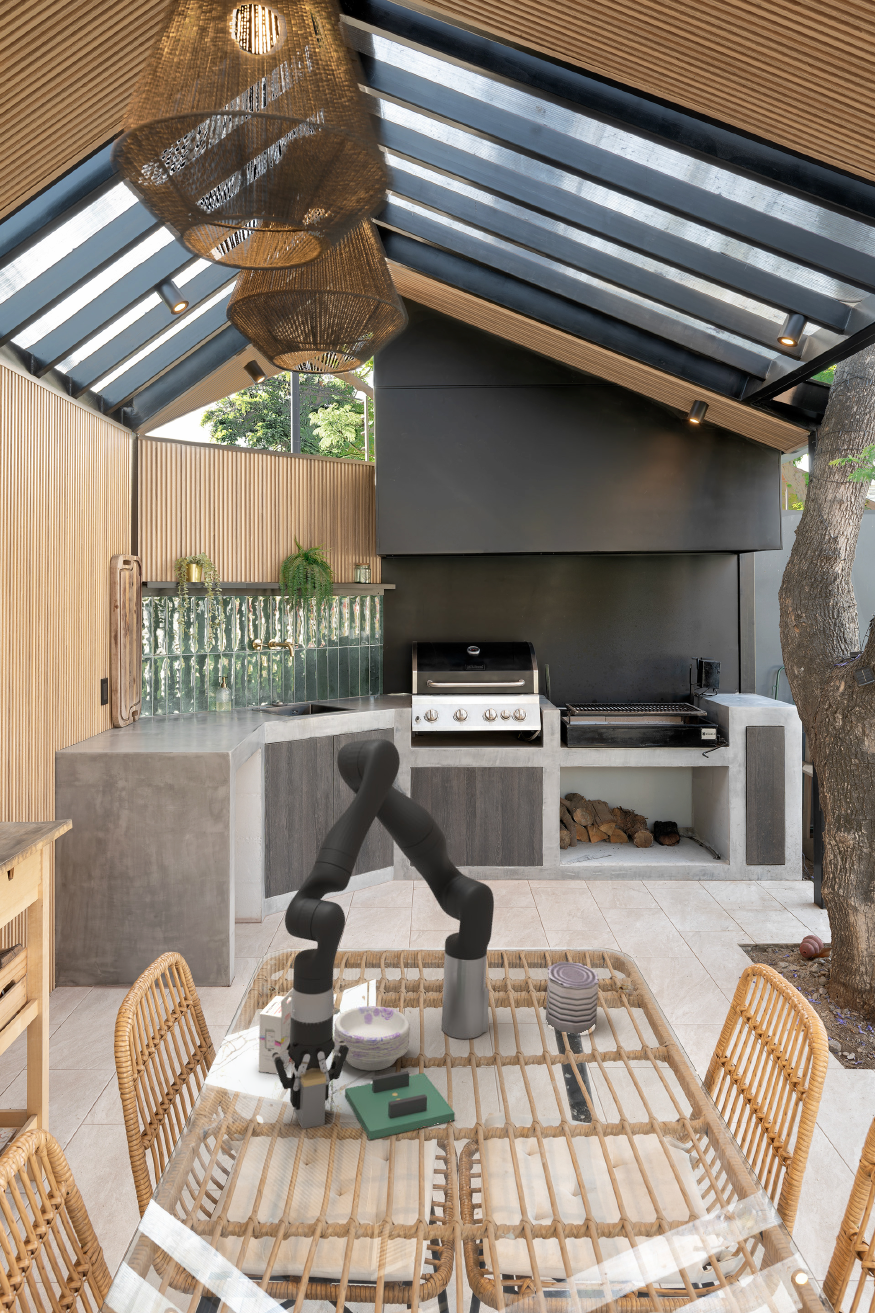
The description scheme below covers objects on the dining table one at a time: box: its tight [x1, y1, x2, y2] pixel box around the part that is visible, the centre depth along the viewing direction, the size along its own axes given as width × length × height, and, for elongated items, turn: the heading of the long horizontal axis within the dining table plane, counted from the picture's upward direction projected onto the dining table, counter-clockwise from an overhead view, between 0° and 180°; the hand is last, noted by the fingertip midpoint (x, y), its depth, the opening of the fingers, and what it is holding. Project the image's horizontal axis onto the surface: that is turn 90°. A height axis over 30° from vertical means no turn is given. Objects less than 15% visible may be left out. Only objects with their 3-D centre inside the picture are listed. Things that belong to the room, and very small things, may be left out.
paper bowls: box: [333, 1005, 411, 1072], centre depth 171 cm, size 15×15×8 cm
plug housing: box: [293, 1068, 326, 1130], centre depth 151 cm, size 4×6×8 cm, turn 24°
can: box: [545, 960, 600, 1034], centre depth 189 cm, size 11×11×12 cm
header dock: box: [344, 1070, 455, 1141], centre depth 155 cm, size 16×14×4 cm
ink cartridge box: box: [258, 987, 293, 1075], centre depth 168 cm, size 9×5×15 cm, turn 168°
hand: (309, 1104), depth 151 cm, fingers closed on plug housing, 4 cm apart
